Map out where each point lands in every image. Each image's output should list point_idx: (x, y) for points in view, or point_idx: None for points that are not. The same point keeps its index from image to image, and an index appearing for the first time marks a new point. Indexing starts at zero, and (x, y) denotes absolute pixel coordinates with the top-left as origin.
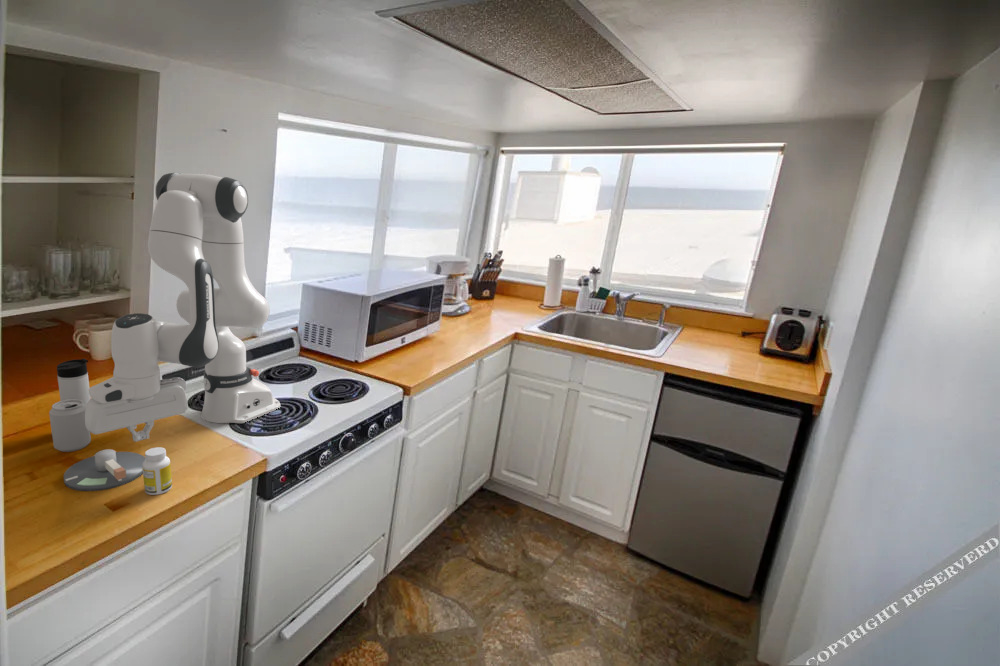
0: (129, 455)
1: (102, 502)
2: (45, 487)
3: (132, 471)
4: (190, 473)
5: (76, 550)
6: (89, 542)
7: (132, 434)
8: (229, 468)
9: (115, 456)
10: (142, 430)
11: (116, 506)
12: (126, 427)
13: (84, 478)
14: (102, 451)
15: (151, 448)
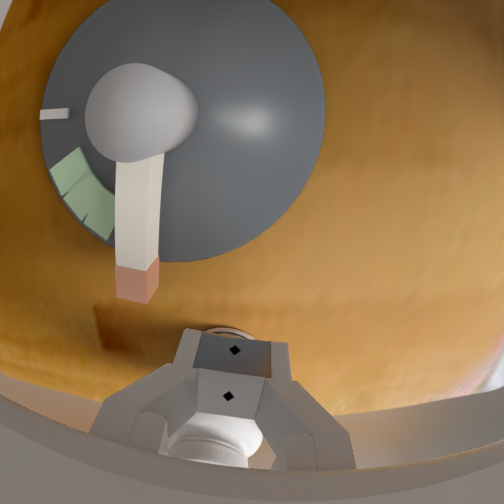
0: (287, 70)
1: (91, 295)
2: (23, 86)
3: (213, 225)
4: (345, 348)
5: (43, 385)
6: (58, 387)
7: (176, 355)
8: (410, 389)
9: (170, 142)
10: (262, 375)
11: (112, 338)
12: (104, 408)
13: (77, 141)
14: (130, 76)
15: (206, 461)
